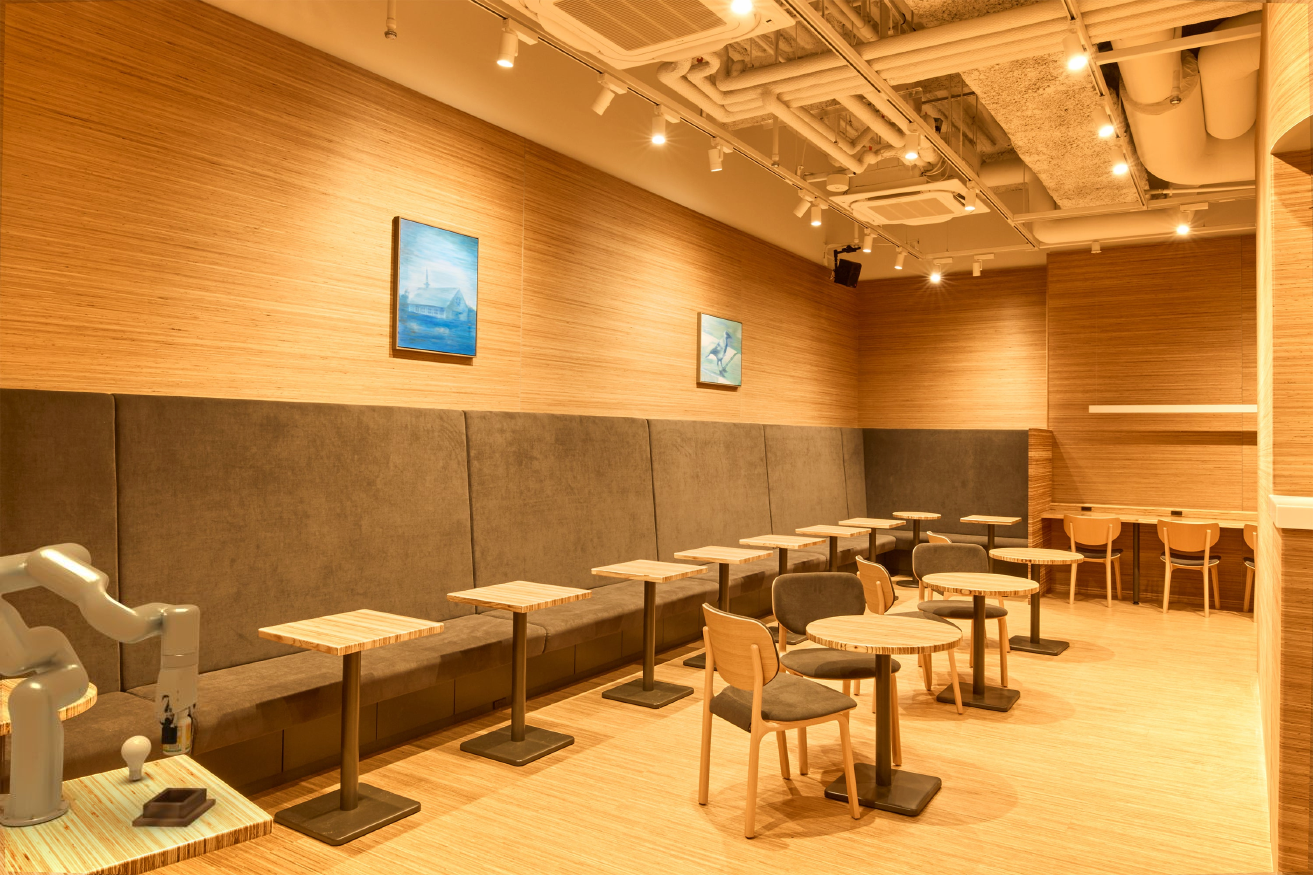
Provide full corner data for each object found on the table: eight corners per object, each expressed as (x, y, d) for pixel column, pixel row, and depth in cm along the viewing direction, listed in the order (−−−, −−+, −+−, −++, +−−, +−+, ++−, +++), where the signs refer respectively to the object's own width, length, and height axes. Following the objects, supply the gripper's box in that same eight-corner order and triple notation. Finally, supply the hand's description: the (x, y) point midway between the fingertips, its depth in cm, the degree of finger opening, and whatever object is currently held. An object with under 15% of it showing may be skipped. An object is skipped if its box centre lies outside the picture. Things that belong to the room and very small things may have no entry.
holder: (132, 826, 179) (132, 806, 179) (164, 802, 191) (165, 784, 191) (186, 826, 179) (187, 807, 179) (215, 803, 191) (216, 785, 191)
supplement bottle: (170, 757, 182) (172, 714, 182) (158, 752, 184) (159, 710, 185) (195, 750, 186) (196, 708, 186) (182, 745, 189) (183, 704, 189)
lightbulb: (135, 786, 200) (136, 741, 200) (113, 783, 201) (115, 739, 201) (156, 776, 206) (157, 733, 206) (134, 774, 207) (136, 730, 208)
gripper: (184, 650, 194) (182, 726, 194) (140, 669, 177) (137, 752, 177) (216, 651, 194) (213, 726, 194) (174, 669, 177) (171, 753, 177)
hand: (177, 738), depth 185 cm, fingers closed on supplement bottle, 5 cm apart
